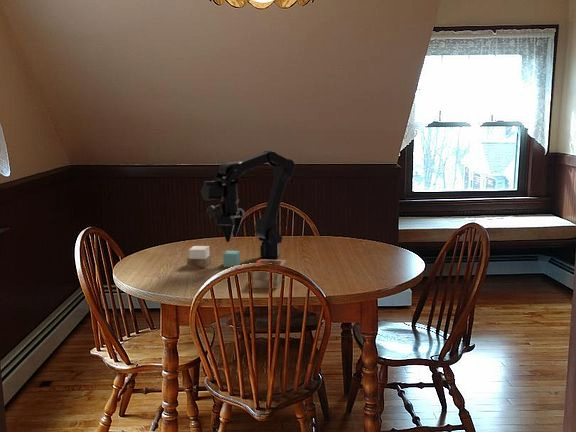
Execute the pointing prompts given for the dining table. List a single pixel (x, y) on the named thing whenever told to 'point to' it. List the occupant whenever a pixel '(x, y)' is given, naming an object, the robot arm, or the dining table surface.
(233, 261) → the teal cube
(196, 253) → the cream block
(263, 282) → the bracket cradle
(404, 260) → the dining table surface
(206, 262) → the walnut block
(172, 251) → the dining table surface
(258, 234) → the robot arm
